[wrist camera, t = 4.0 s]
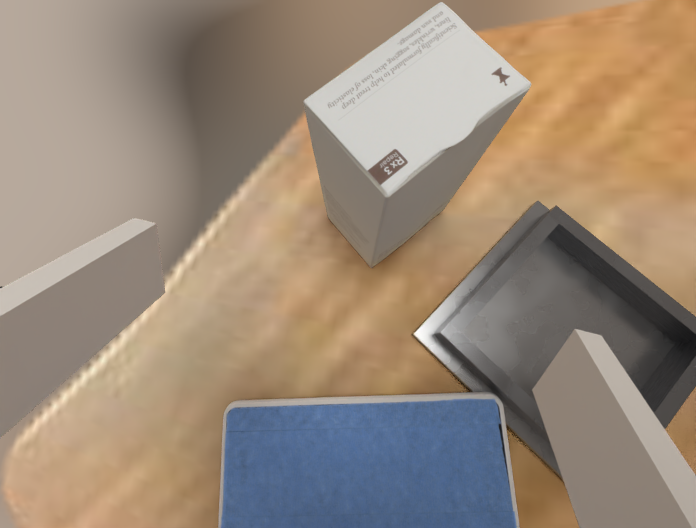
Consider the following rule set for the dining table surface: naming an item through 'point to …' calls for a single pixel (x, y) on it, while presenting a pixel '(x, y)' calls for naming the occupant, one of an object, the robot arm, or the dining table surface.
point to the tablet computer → (367, 463)
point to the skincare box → (408, 128)
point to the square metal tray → (558, 321)
